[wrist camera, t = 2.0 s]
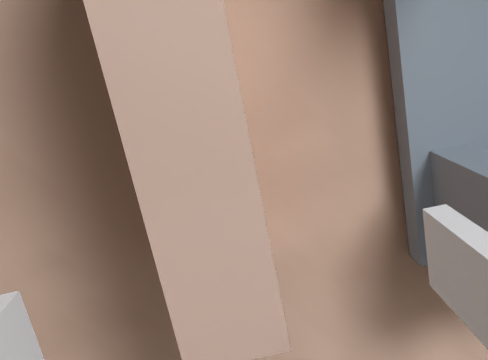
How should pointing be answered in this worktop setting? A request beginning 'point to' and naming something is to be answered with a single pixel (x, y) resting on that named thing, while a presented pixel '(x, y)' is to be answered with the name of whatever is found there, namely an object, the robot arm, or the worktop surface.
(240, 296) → the tan rectangular block
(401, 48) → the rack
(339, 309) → the worktop surface
